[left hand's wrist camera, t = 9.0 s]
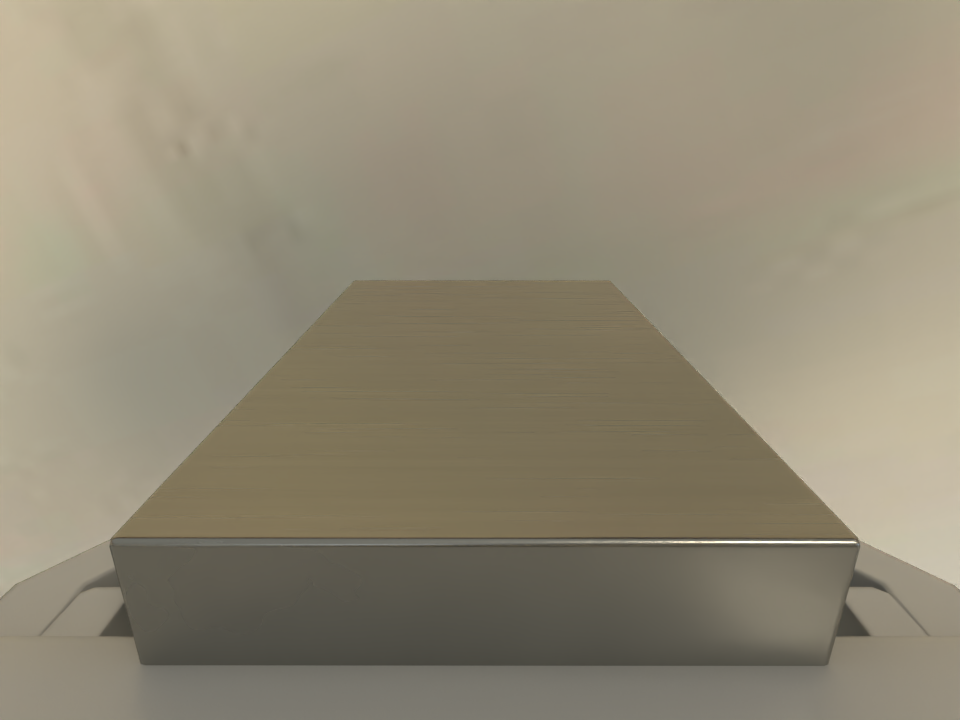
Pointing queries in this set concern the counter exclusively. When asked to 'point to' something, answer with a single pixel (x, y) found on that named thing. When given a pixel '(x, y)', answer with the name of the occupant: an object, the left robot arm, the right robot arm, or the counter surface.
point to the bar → (484, 501)
